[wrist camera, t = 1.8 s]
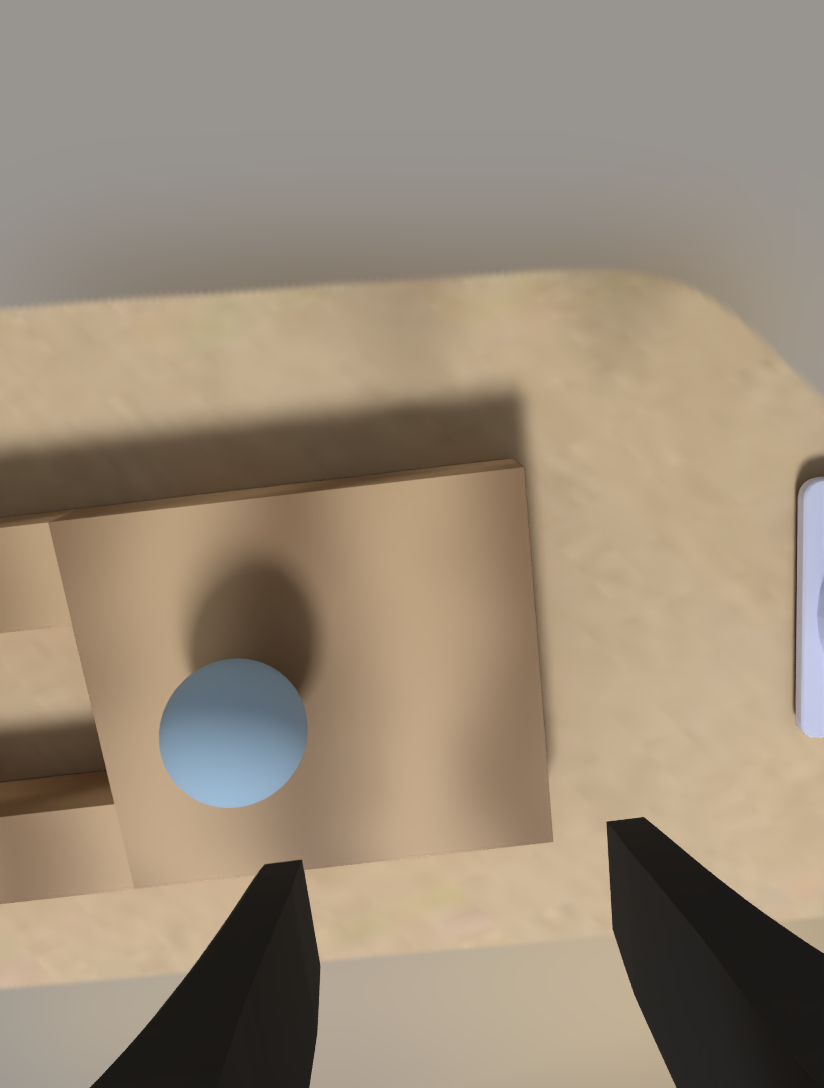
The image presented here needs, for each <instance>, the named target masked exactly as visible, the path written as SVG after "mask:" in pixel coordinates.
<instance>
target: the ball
mask: <svg viewBox="0 0 824 1088" xmlns="http://www.w3.org/2000/svg"><path fill="white" fill-rule="evenodd" d="M307 732H308V724H307V716H306V711H305V707H304V704H303V702H302V699H301V697H300V696H299V694H298V692H297V690H296V689H295V687H294V686H293V685H292V683H291V682H290V681H289V680H288V679H287V678H286V677H285V676H284V675H283V674H281V673H280V672H279V671H277V670H276V669H274V668H273V667H271V666H269V665H266V664H264V663H261V662H258V661H255V660H250V659H240V658H237V659H226V660H221V661H217V662H214V663H211V664H208V665H206V666H204V667H202V668H200V669H199V670H197V671H195V672H194V673H192V674H191V675H190V676H188V677H187V678H186V679H185V680H184V681H183V682H182V683H181V684H180V685H179V686H178V687H177V688H176V690H175V691H174V692H173V694H172V695H171V697H170V699H169V700H168V702H167V704H166V707H165V709H164V711H163V714H162V718H161V722H160V728H159V748H160V754H161V757H162V761H163V763H164V766H165V768H166V770H167V772H168V774H169V776H170V777H171V779H172V780H173V781H174V783H175V784H176V785H177V786H178V787H179V788H180V789H181V790H182V791H183V792H184V793H186V794H187V795H188V796H190V797H191V798H193V799H195V800H197V801H199V802H201V803H204V804H207V805H210V806H215V807H221V808H237V807H243V806H248V805H251V804H254V803H257V802H259V801H261V800H263V799H266V798H267V797H269V796H271V795H272V794H274V793H275V792H276V791H277V790H279V789H280V788H281V787H282V786H283V785H284V784H285V783H286V782H287V781H288V780H289V779H290V777H291V776H292V774H293V773H294V772H295V770H296V769H297V767H298V765H299V763H300V761H301V759H302V756H303V753H304V750H305V747H306V742H307Z"/></svg>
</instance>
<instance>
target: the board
mask: <svg viewBox="0 0 824 1088" xmlns="http://www.w3.org/2000/svg"><path fill="white" fill-rule="evenodd" d="M67 625H72V626H73V630H74V635H75V639H76V643H77V647H78V652H79V656H80V660H81V664H82V669H83V673H84V677H85V681H86V685H87V690H88V694H89V698H90V702H91V707H92V711H93V715H94V719H95V724H96V728H97V732H98V736H99V741H100V745H101V749H102V753H103V758H104V762H105V766H106V770H107V771H98V772H89V773H80V774H72V775H63V776H54V777H45V778H36V779H28V780H19V781H10V782H1V783H0V904H5V903H14V902H23V901H32V900H41V899H50V898H59V897H67V896H76V895H85V894H94V893H103V892H112V891H121V890H130V889H138V888H147V887H156V886H165V885H174V884H183V883H192V882H201V881H210V880H218V879H227V878H236V877H245V876H254V875H257V873H258V872H259V870H260V869H261V868H262V867H263V866H264V864H269V863H277V862H286V861H294V860H302V862H303V867H304V870H307V869H316V868H325V867H334V866H343V865H352V864H361V863H370V862H378V861H387V860H396V859H405V858H414V857H423V856H432V855H441V854H450V853H458V852H467V851H476V850H485V849H494V848H503V847H512V846H521V845H530V844H538V843H547V842H553V832H552V820H551V807H550V794H549V781H548V768H547V755H546V743H545V730H544V717H543V704H542V691H541V678H540V666H539V653H538V640H537V627H536V614H535V601H534V589H533V576H532V563H531V550H530V537H529V524H528V512H527V499H526V486H525V473H524V467H523V466H522V465H520V464H519V463H518V462H516V461H515V460H514V459H512V458H510V459H502V460H493V461H485V462H476V463H467V464H459V465H450V466H442V467H433V468H424V469H416V470H407V471H398V472H390V473H381V474H373V475H364V476H355V477H347V478H338V479H329V480H321V481H312V482H304V483H295V484H286V485H278V486H269V487H261V488H252V489H243V490H235V491H226V492H217V493H209V494H200V495H192V496H183V497H174V498H166V499H157V500H149V501H140V502H131V503H123V504H114V505H105V506H97V507H88V508H80V509H71V510H62V511H54V512H45V513H37V514H28V515H19V516H11V517H2V518H0V633H6V632H15V631H24V630H32V629H41V628H50V627H58V626H67ZM237 658H240V659H250V660H255V661H258V662H261V663H264V664H266V665H269V666H271V667H273V668H274V669H276V670H277V671H279V672H280V673H281V674H283V675H284V676H285V677H286V678H287V679H288V680H289V681H290V682H291V683H292V685H293V686H294V687H295V689H296V690H297V692H298V694H299V696H300V697H301V699H302V702H303V704H304V707H305V711H306V716H307V724H308V732H307V742H306V747H305V750H304V753H303V756H302V759H301V761H300V763H299V765H298V767H297V769H296V770H295V772H294V773H293V774H292V776H291V777H290V779H289V780H288V781H287V782H286V783H285V784H284V785H283V786H282V787H281V788H280V789H279V790H277V791H276V792H275V793H274V794H272V795H271V796H269V797H267V798H266V799H263V800H261V801H259V802H257V803H254V804H251V805H248V806H243V807H237V808H221V807H215V806H210V805H207V804H204V803H201V802H199V801H197V800H195V799H193V798H191V797H190V796H188V795H187V794H186V793H184V792H183V791H182V790H181V789H180V788H179V787H178V786H177V785H176V784H175V783H174V781H173V780H172V779H171V777H170V776H169V774H168V772H167V770H166V768H165V766H164V763H163V761H162V757H161V754H160V748H159V728H160V722H161V718H162V714H163V711H164V709H165V707H166V704H167V702H168V700H169V699H170V697H171V695H172V694H173V692H174V691H175V690H176V688H177V687H178V686H179V685H180V684H181V683H182V682H183V681H184V680H185V679H186V678H187V677H188V676H190V675H191V674H192V673H194V672H195V671H197V670H199V669H200V668H202V667H204V666H206V665H208V664H211V663H214V662H217V661H221V660H226V659H237Z"/></svg>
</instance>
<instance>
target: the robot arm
mask: <svg viewBox="0 0 824 1088" xmlns="http://www.w3.org/2000/svg"><path fill="white" fill-rule="evenodd" d="M796 725H797V727H798V728H799V729H800V730H801V731H802V732H803V733H804V734H805V735H807V736H809V737H813V738H819V737H824V476H823V477H815V478H812V479H809V480H808V481H806V482H805V483H804V484H803V485H802V486H801V488H800V490H799V494H798V535H797V630H796ZM607 839H608V856H609V873H610V890H611V908H612V925H613V931H614V935H615V938H616V941H617V944H618V947H619V950H620V953H621V956H622V959H623V962H624V966H625V968H626V971H627V974H628V977H629V980H630V983H631V986H632V989H633V992H634V995H635V997H636V999H637V1001H638V1004H639V1006H640V1008H641V1010H642V1013H643V1015H644V1017H645V1020H646V1022H647V1024H648V1026H649V1028H650V1030H651V1033H652V1035H653V1037H654V1039H655V1042H656V1044H657V1046H658V1048H659V1050H660V1053H661V1055H662V1057H663V1059H664V1061H665V1064H666V1066H667V1068H668V1070H669V1072H670V1074H671V1077H672V1079H673V1081H674V1083H675V1085H676V1088H824V953H822V952H820V951H819V950H817V949H816V948H814V947H813V946H811V945H809V944H808V943H807V942H805V941H803V940H802V939H801V938H799V937H798V936H796V935H795V934H793V933H792V932H790V931H789V930H788V929H786V928H785V927H783V926H782V925H780V924H779V923H777V922H776V921H775V920H773V919H772V918H770V917H769V916H767V915H766V914H764V913H763V912H762V911H760V910H759V909H758V908H756V907H755V906H754V905H752V904H751V903H750V902H748V901H747V900H745V899H744V898H743V897H742V896H740V895H739V894H738V893H736V892H735V891H734V890H733V889H731V888H730V887H729V886H727V885H726V884H725V883H723V882H722V881H721V880H720V879H718V878H717V877H716V876H715V875H713V874H712V873H711V872H710V871H708V870H707V869H706V868H705V867H703V866H702V865H701V864H700V863H699V862H697V861H696V860H695V859H694V858H693V857H691V856H690V855H689V854H688V853H686V852H685V851H684V850H683V849H682V848H681V847H679V846H678V845H677V844H676V843H675V842H673V841H672V840H671V839H670V838H669V837H667V836H666V835H665V834H664V833H663V832H661V831H660V830H659V829H658V828H657V827H655V826H654V825H653V824H652V823H651V822H649V821H648V820H647V819H646V818H644V817H641V818H633V819H625V820H617V821H608V822H607ZM319 986H320V961H319V955H318V949H317V943H316V938H315V932H314V926H313V920H312V914H311V908H310V903H309V897H308V891H307V885H306V879H305V873H304V867H303V862H302V860H294V861H286V862H277V863H269V864H264V866H263V867H262V868H261V869H260V870H259V872H258V873H257V875H256V876H255V878H254V879H253V881H252V882H251V884H250V885H249V887H248V888H247V890H246V891H245V893H244V894H243V896H242V897H241V899H240V901H239V902H238V904H237V905H236V907H235V908H234V910H233V911H232V912H231V914H230V915H229V917H228V918H227V920H226V921H225V923H224V924H223V926H222V927H221V929H220V930H219V931H218V933H217V934H216V936H215V937H214V938H213V940H212V941H211V943H210V944H209V945H208V947H207V948H206V950H205V951H204V952H203V954H202V955H201V957H200V958H199V959H198V961H197V962H196V964H195V965H194V966H193V968H192V969H191V970H190V972H189V973H188V974H187V976H186V977H185V978H184V979H183V981H182V982H181V983H180V985H179V986H178V987H177V988H176V990H175V991H174V992H173V993H172V995H171V996H170V997H169V999H168V1000H167V1001H166V1002H165V1003H164V1005H163V1006H162V1007H161V1008H160V1010H159V1011H158V1012H157V1014H156V1015H155V1016H154V1017H153V1018H152V1020H151V1021H150V1022H149V1023H148V1024H147V1026H146V1027H145V1028H144V1029H143V1030H142V1031H141V1033H140V1034H139V1035H138V1036H137V1037H136V1038H135V1040H134V1041H133V1042H132V1043H131V1044H130V1045H129V1046H128V1048H127V1049H126V1050H125V1051H124V1052H123V1053H122V1054H121V1055H120V1057H118V1059H117V1060H116V1061H115V1062H114V1063H113V1064H112V1065H111V1066H110V1067H109V1068H108V1069H107V1070H106V1071H105V1073H104V1074H103V1075H102V1076H101V1077H100V1078H99V1079H98V1080H97V1081H96V1082H95V1083H94V1084H93V1085H92V1086H91V1087H90V1088H309V1085H310V1079H311V1072H312V1065H313V1059H314V1052H315V1045H316V1038H317V1026H318V1008H319Z"/></svg>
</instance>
